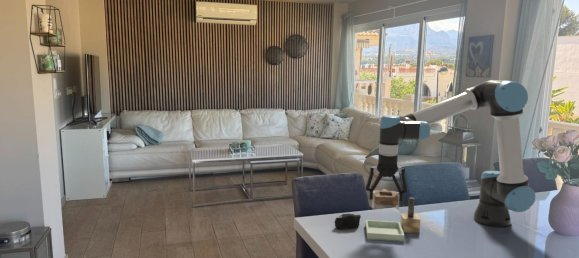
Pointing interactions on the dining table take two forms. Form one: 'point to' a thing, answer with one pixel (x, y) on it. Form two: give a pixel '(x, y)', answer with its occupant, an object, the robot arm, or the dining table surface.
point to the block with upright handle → (410, 219)
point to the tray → (384, 231)
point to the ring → (386, 197)
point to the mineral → (347, 221)
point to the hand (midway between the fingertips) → (385, 207)
